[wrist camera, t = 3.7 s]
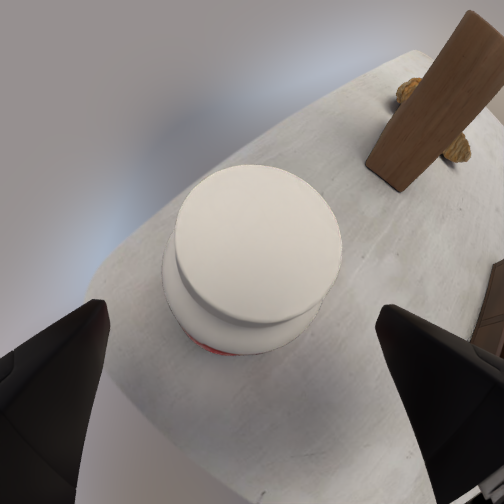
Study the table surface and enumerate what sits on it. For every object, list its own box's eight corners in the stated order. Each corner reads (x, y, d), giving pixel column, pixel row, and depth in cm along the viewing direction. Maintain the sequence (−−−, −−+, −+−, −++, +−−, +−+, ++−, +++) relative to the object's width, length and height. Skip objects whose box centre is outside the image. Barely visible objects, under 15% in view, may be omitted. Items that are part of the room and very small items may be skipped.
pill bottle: (159, 319, 17) (98, 261, 7) (213, 243, 19) (228, 117, 9) (245, 374, 16) (309, 397, 6) (292, 293, 19) (389, 213, 9)
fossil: (399, 88, 32) (384, 100, 28) (423, 64, 27) (413, 70, 23) (454, 150, 32) (449, 176, 28) (480, 131, 27) (482, 153, 23)
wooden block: (386, 124, 28) (465, 5, 11) (417, 148, 27) (505, 39, 11) (362, 165, 24) (472, 10, 8) (400, 195, 24) (526, 59, 7)
